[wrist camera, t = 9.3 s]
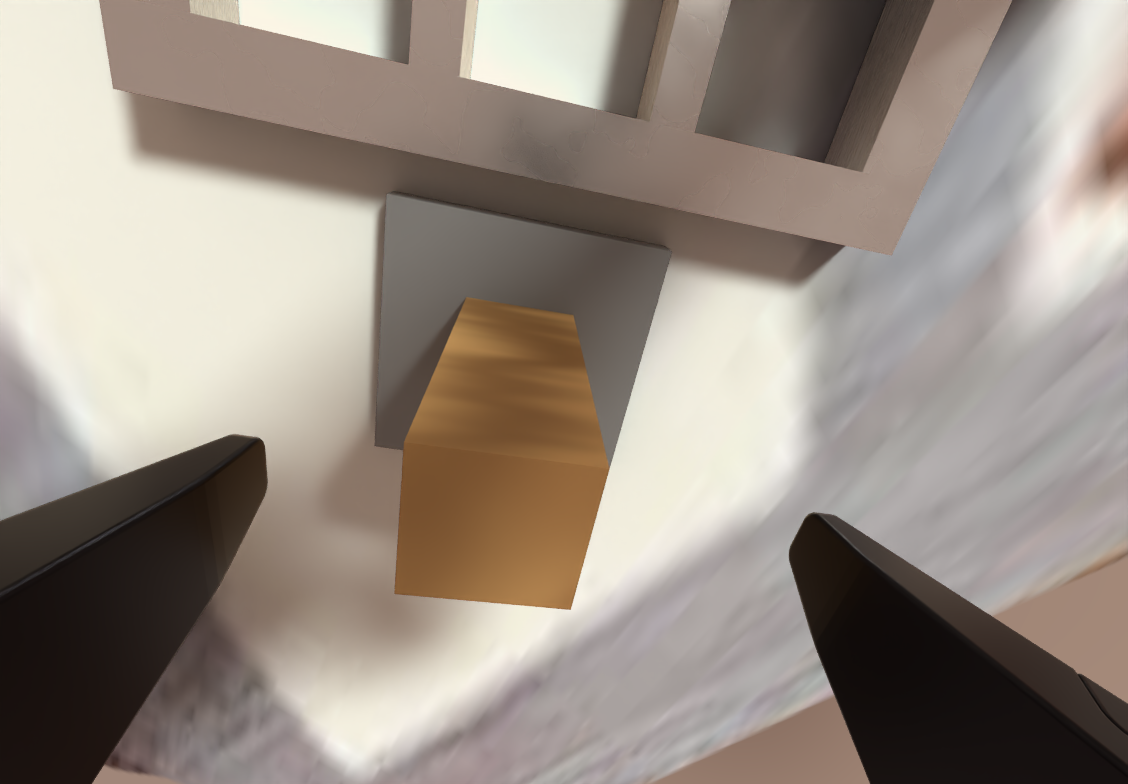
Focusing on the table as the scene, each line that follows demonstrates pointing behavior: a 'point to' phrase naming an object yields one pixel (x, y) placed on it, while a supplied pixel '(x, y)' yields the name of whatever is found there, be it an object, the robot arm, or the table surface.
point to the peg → (502, 463)
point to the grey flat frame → (587, 108)
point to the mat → (507, 298)
